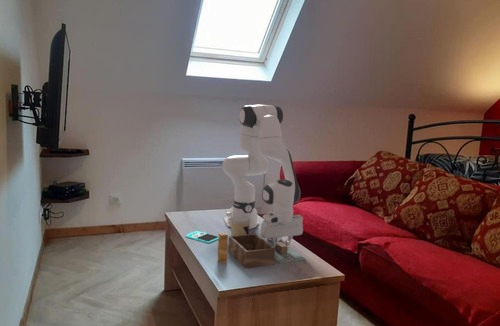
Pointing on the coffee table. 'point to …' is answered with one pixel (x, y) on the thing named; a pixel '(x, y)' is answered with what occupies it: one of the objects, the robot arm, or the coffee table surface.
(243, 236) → the toolbox
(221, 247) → the wooden block
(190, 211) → the coffee table surface
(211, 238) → the handheld game console
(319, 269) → the coffee table surface
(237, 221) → the coffee cup
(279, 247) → the toolbox lid
